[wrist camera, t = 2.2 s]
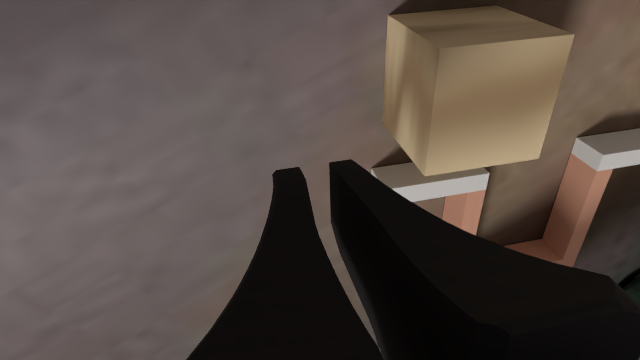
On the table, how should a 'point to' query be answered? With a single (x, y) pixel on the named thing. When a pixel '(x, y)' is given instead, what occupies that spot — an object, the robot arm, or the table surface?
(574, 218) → the cross-shaped barrier wall
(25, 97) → the table surface
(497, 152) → the oak block
